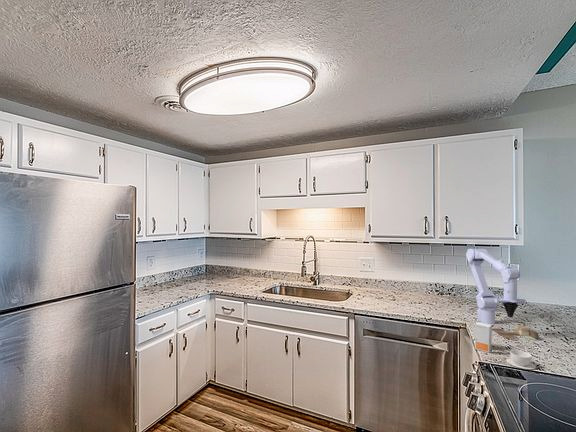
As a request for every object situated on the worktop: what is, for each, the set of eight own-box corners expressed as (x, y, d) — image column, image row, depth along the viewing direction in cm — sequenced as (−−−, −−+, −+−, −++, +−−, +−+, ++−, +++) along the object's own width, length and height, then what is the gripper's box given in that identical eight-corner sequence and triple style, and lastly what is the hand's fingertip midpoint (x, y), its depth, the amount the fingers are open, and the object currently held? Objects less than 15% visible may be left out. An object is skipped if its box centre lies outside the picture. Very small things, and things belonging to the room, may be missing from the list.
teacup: (531, 372, 123) (531, 361, 123) (502, 363, 131) (502, 352, 131) (539, 365, 129) (539, 354, 129) (511, 357, 137) (511, 346, 137)
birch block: (515, 332, 162) (515, 325, 162) (523, 332, 161) (523, 325, 161) (521, 335, 158) (521, 327, 158) (529, 335, 157) (529, 327, 157)
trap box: (489, 331, 167) (489, 322, 167) (518, 332, 166) (518, 323, 166) (506, 341, 153) (506, 332, 153) (537, 342, 152) (538, 333, 152)
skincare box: (474, 349, 144) (474, 323, 144) (476, 346, 147) (477, 321, 147) (489, 353, 140) (489, 327, 140) (491, 350, 143) (492, 324, 143)
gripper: (500, 292, 159) (500, 318, 159) (530, 293, 158) (529, 319, 158) (492, 289, 166) (492, 314, 166) (520, 289, 165) (520, 315, 165)
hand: (510, 316), depth 163 cm, fingers closed
